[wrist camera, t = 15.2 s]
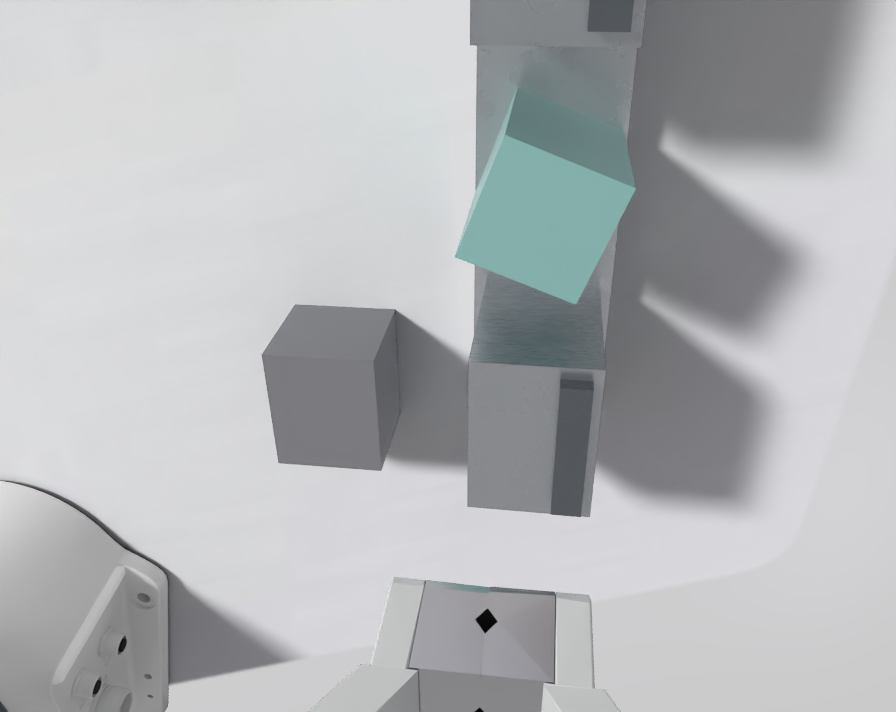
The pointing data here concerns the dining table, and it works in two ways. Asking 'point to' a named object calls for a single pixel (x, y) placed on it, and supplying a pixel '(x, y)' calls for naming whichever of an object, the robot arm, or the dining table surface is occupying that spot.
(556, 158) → the block
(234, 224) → the dining table surface
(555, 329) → the grey u-shaped cradle
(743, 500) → the dining table surface
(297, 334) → the block
